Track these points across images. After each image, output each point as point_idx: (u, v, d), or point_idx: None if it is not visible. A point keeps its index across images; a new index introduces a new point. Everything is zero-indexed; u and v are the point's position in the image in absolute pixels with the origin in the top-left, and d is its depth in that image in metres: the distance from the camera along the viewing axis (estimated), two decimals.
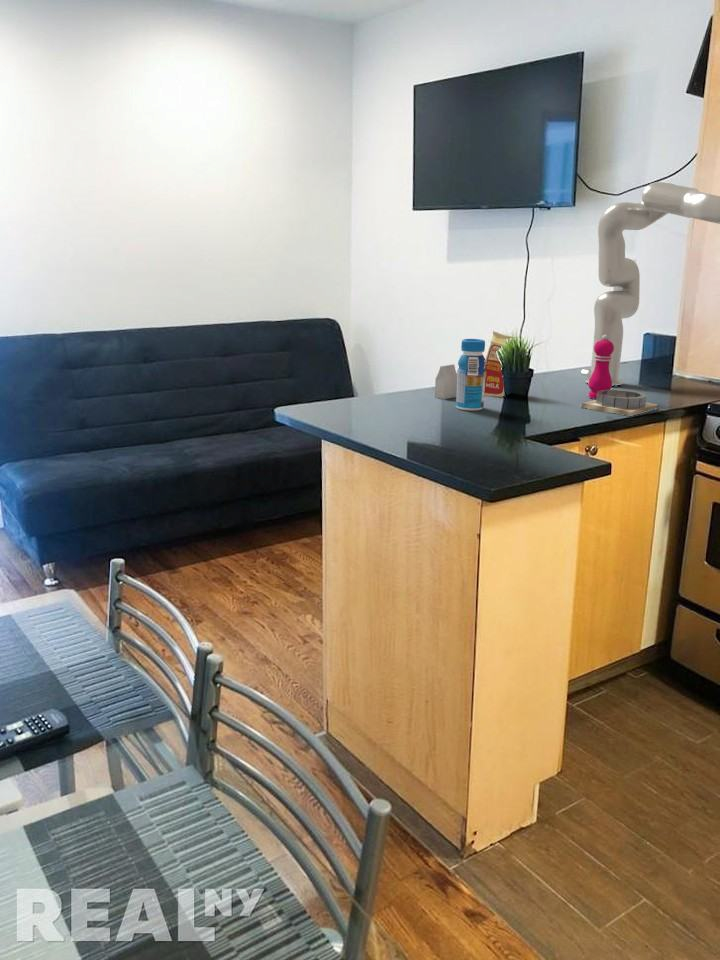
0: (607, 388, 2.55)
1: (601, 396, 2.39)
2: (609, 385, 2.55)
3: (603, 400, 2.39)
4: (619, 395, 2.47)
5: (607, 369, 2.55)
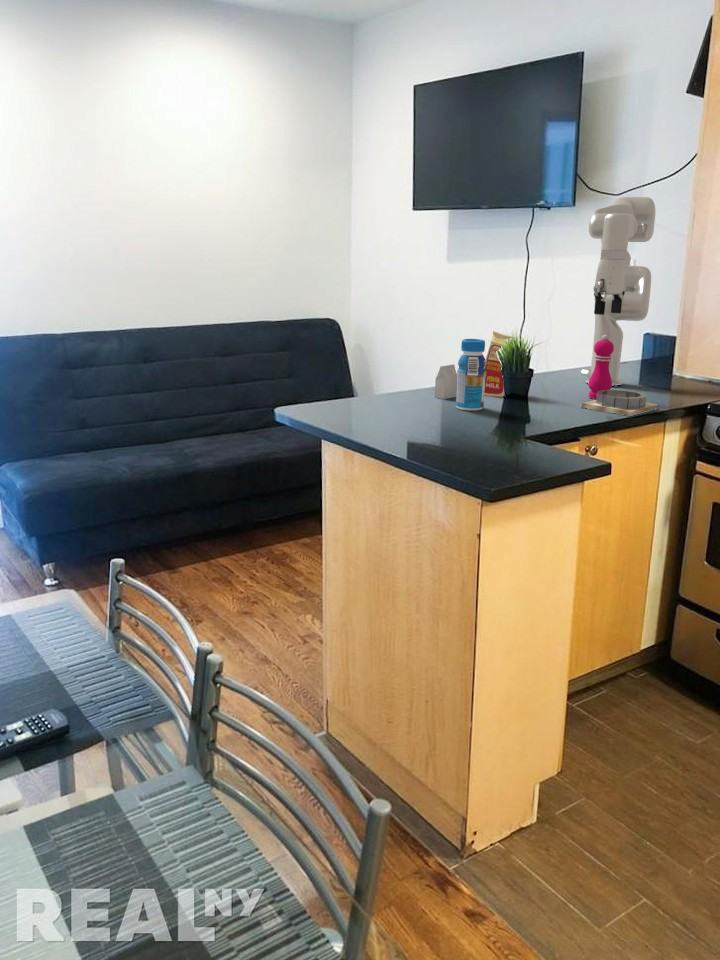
0: (607, 388, 2.55)
1: (601, 396, 2.39)
2: (609, 385, 2.55)
3: (603, 400, 2.39)
4: (619, 395, 2.47)
5: (607, 369, 2.55)
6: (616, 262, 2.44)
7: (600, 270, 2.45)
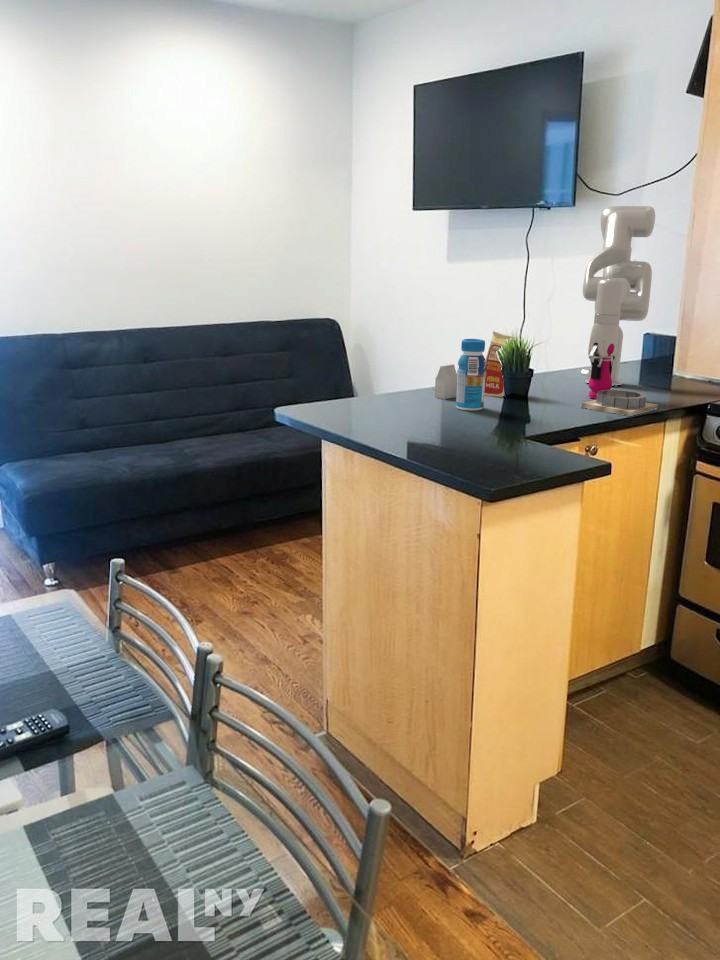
0: (607, 388, 2.55)
1: (601, 396, 2.39)
2: (609, 385, 2.55)
3: (603, 400, 2.39)
4: (619, 395, 2.47)
5: (607, 369, 2.55)
6: (609, 326, 2.49)
7: (594, 334, 2.50)
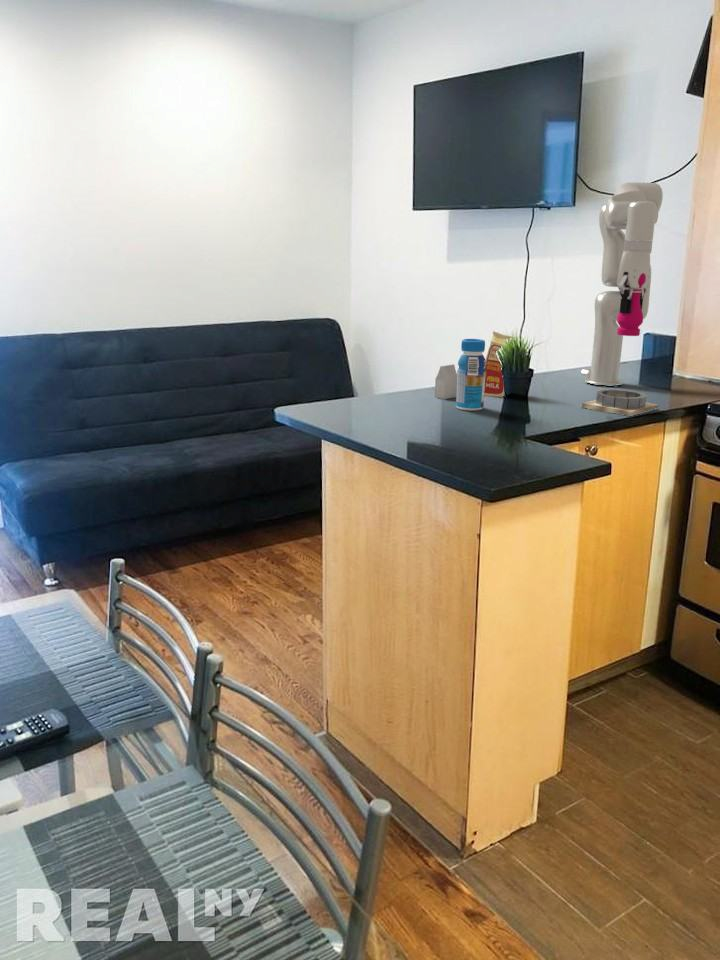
0: (638, 323, 2.33)
1: (601, 396, 2.39)
2: (640, 319, 2.33)
3: (603, 400, 2.39)
4: (619, 395, 2.47)
5: (638, 302, 2.33)
6: (641, 254, 2.27)
7: (624, 262, 2.28)
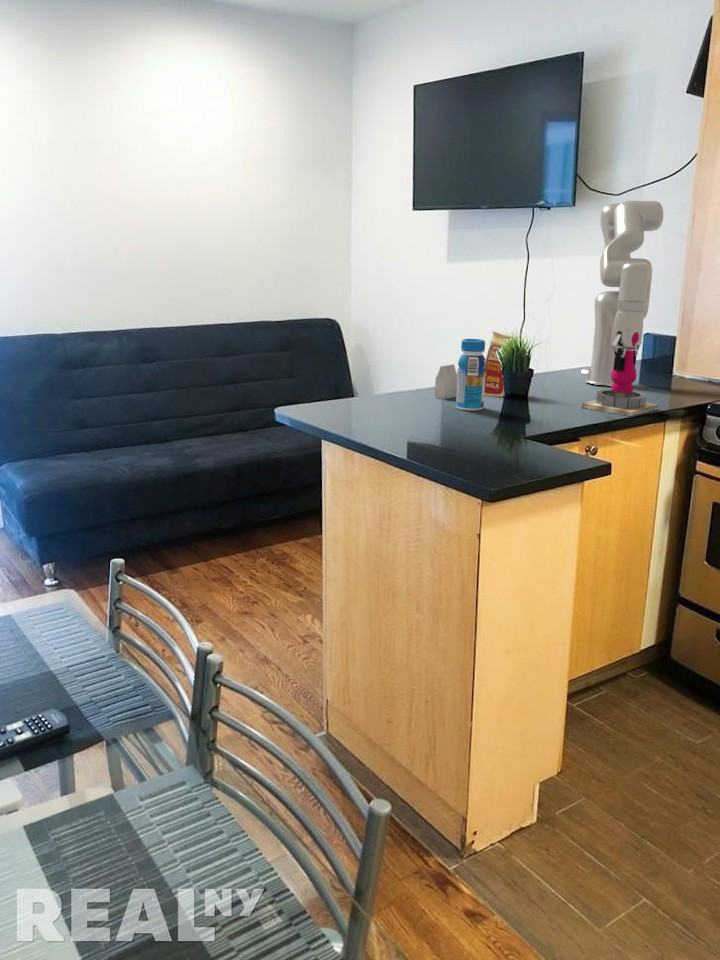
0: (631, 380, 2.38)
1: (601, 396, 2.39)
2: (633, 377, 2.38)
3: (603, 400, 2.39)
4: (619, 395, 2.47)
5: (631, 359, 2.37)
6: (634, 314, 2.32)
7: (617, 322, 2.33)
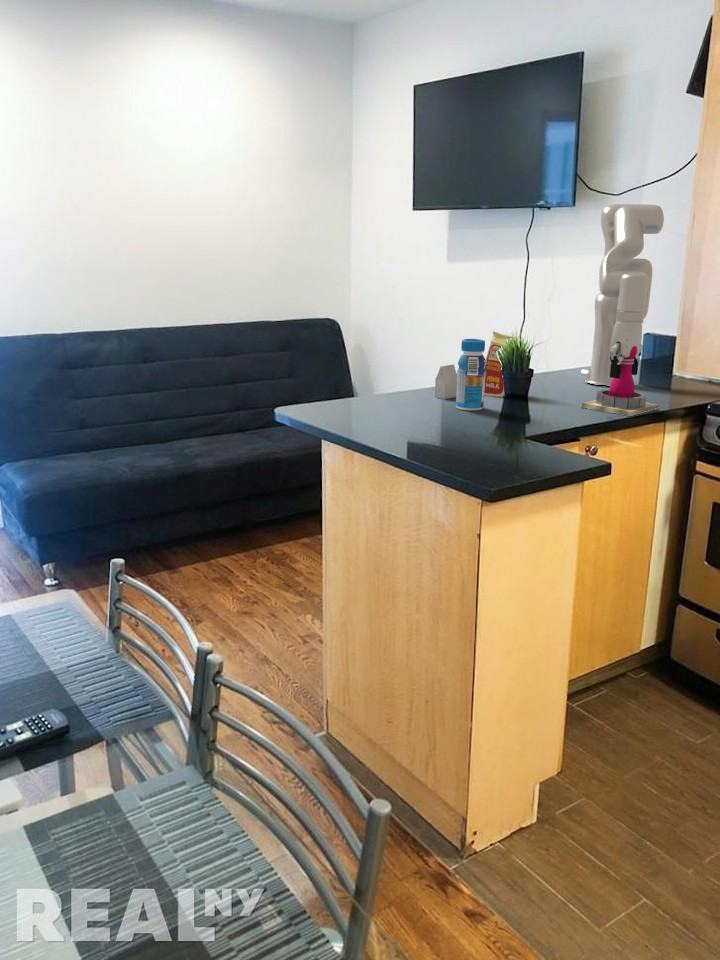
0: (630, 393, 2.39)
1: (601, 396, 2.39)
2: (632, 390, 2.39)
3: (603, 400, 2.39)
4: None
5: (630, 373, 2.39)
6: (633, 324, 2.33)
7: (616, 332, 2.34)
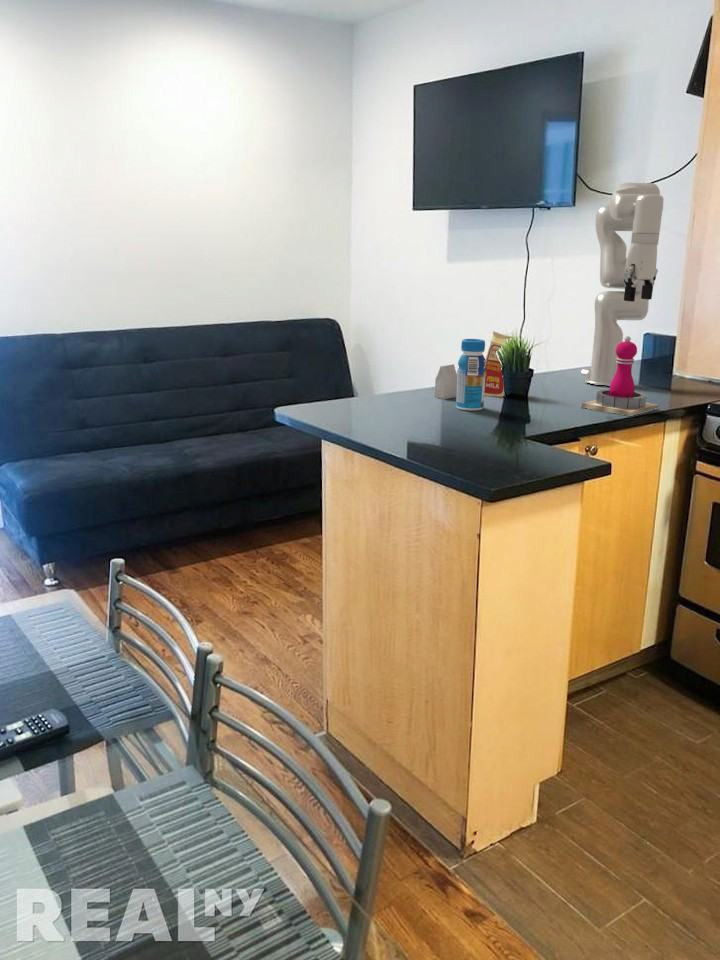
0: (630, 393, 2.39)
1: (601, 396, 2.39)
2: (632, 390, 2.39)
3: (603, 400, 2.39)
4: None
5: (630, 373, 2.39)
6: (648, 246, 2.32)
7: (631, 255, 2.34)
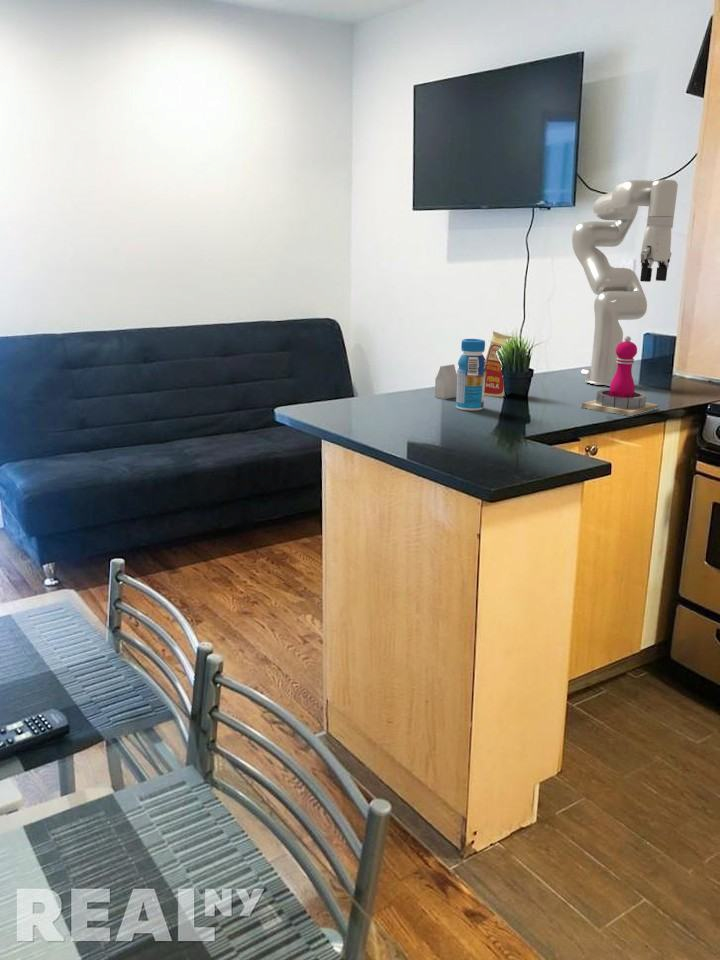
0: (630, 393, 2.39)
1: (601, 396, 2.39)
2: (632, 390, 2.39)
3: (603, 400, 2.39)
4: None
5: (630, 373, 2.39)
6: (663, 229, 2.45)
7: (647, 237, 2.46)
